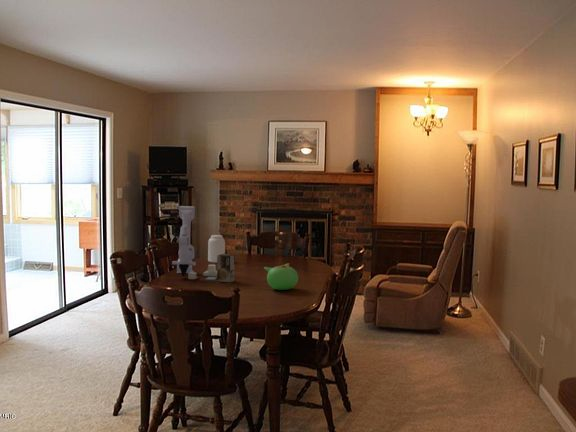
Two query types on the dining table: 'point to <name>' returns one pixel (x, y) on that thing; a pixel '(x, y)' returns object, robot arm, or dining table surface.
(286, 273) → the green rounded lump
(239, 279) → the dining table surface
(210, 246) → the can
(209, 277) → the phone
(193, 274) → the cable plug
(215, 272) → the outlet plate
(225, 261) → the coffee box
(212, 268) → the charger
